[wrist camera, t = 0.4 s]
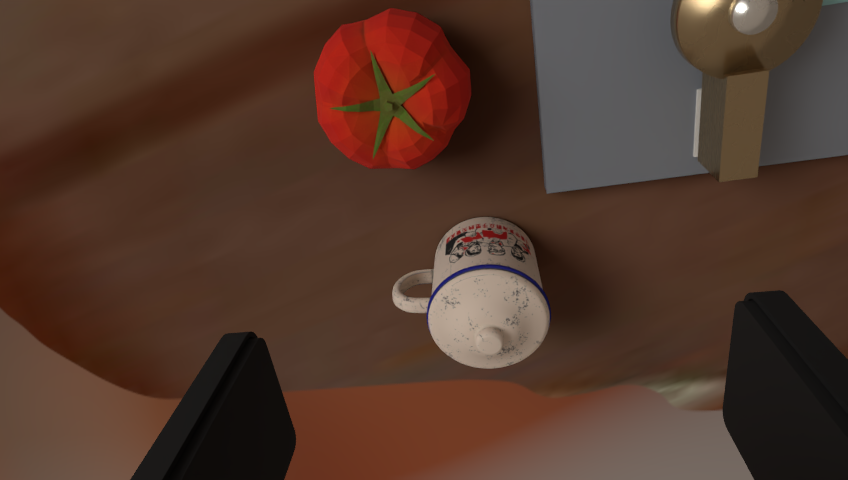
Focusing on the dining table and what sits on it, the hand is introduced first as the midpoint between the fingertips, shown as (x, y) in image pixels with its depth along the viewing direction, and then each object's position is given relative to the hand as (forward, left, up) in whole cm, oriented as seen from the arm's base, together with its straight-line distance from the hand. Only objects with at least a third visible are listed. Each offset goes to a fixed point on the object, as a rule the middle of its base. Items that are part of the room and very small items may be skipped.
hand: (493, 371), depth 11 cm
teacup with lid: (+17, -3, -34) cm, 38 cm away
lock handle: (+2, +16, -31) cm, 35 cm away
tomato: (+1, -6, -34) cm, 34 cm away
